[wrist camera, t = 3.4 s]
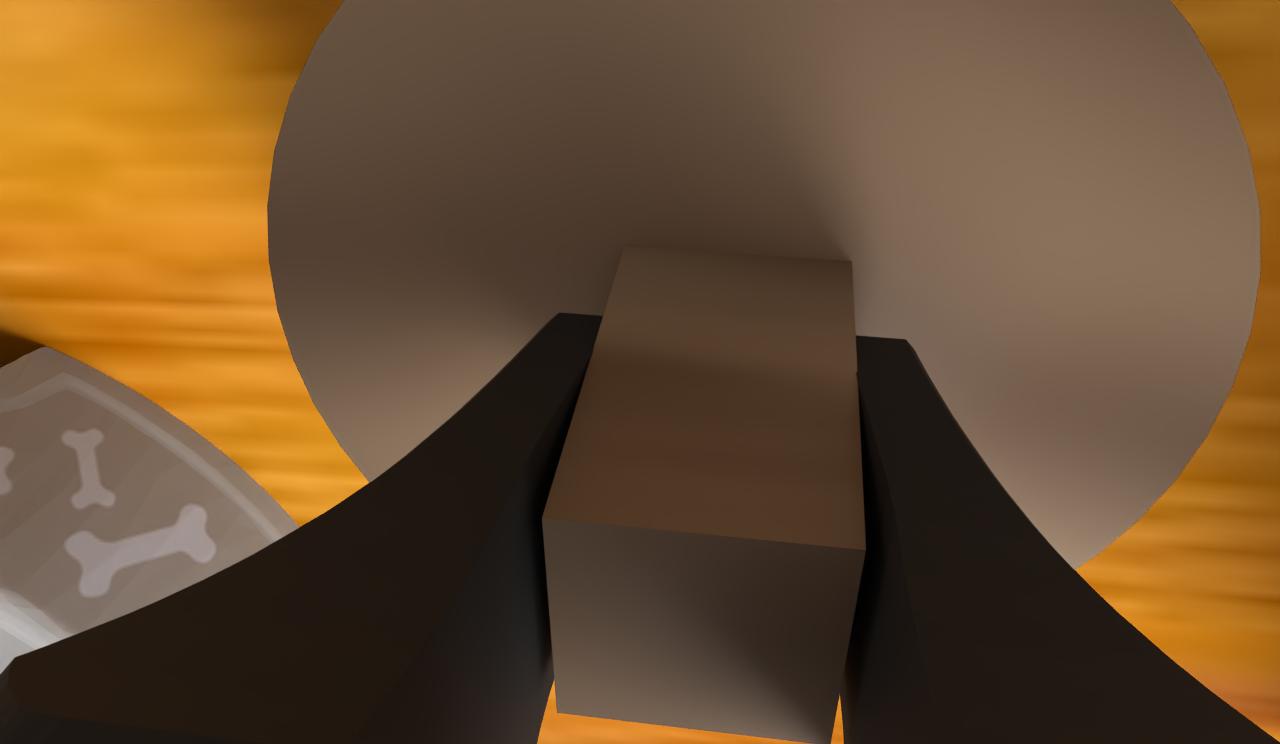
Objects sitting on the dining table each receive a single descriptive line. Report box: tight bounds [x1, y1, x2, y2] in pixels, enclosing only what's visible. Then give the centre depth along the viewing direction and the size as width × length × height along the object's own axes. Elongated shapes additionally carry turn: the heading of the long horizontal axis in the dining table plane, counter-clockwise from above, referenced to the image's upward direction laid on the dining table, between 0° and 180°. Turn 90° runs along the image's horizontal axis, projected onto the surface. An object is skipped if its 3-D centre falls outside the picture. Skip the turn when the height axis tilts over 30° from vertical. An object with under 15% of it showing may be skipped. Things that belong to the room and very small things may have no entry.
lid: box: [267, 0, 1261, 744], centre depth 11 cm, size 12×12×5 cm
